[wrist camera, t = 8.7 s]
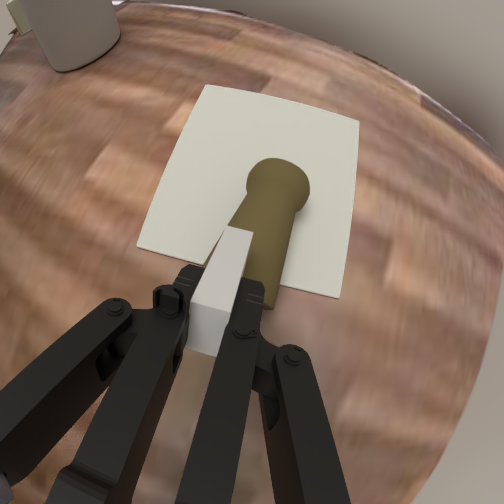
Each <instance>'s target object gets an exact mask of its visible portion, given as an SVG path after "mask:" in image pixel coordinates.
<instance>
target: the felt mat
mask: <svg viewBox="0 0 504 504" xmlns="http://www.w3.org/2000/svg"><path fill="white" fill-rule="evenodd" d="M358 139H359V121H357V120H354V119H351V118H348V117H345V116H342V115H339V114H336V113H333V112H329V111H326V110H323V109H319V108H316V107H312V106H309V105H305V104H302V103H298V102H294V101H290V100H286V99H282V98H278V97H273V96H269V95H264V94H259V93H254V92H249V91H244V90H239V89H233V88H227V87H220V86H214V85H205V87H204V89H203V91H202V93H201V95H200V97H199V99H198V101H197V102H196V104H195V106H194V108H193V110H192V112H191V114H190V116H189V118H188V120H187V122H186V124H185V127H184V129H183V131H182V133H181V135H180V137H179V139H178V141H177V144H176V146H175V148H174V150H173V152H172V155H171V157H170V159H169V162H168V164H167V166H166V169H165V171H164V173H163V176H162V178H161V180H160V183H159V185H158V188H157V190H156V193H155V195H154V198H153V201H152V203H151V206H150V208H149V211H148V214H147V216H146V219H145V222H144V225H143V227H142V230H141V233H140V236H139V239H138V242H137V245H136V247H138V248H141V249H145V250H148V251H152V252H155V253H159V254H163V255H166V256H170V257H174V258H177V259H181V260H185V261H189V262H192V263H196V264H200V265H203V264H204V262H205V261H206V259H207V257H208V256H209V254H210V252H211V251H212V249H213V247H214V246H215V244H216V242H217V241H218V239H219V238H220V236H221V234H222V233H223V231H224V230H225V228H226V226H227V225H228V223H229V222H230V220H231V218H232V217H233V215H234V214H235V212H236V210H237V209H238V207H239V206H240V204H241V203H242V201H243V199H244V198H245V196H246V195H247V190H246V182H247V177H248V174H249V172H250V170H251V169H252V168H253V167H254V166H255V165H256V164H257V163H258V162H260V161H262V160H264V159H267V158H279V159H284V160H286V161H289V162H292V163H293V164H295V165H297V166H298V167H300V168H301V169H302V170H303V171H304V172H305V174H306V175H307V177H308V180H309V183H310V195H309V197H308V200H307V202H306V204H305V205H304V207H303V208H302V209H301V210H300V211H298V212H297V213H296V214H295V218H294V223H293V227H292V232H291V237H290V241H289V246H288V250H287V254H286V259H285V263H284V268H283V272H282V276H281V280H280V285H282V286H286V287H290V288H294V289H299V290H303V291H307V292H311V293H315V294H319V295H324V296H328V297H332V298H337V299H338V298H339V296H340V291H341V286H342V280H343V274H344V268H345V262H346V255H347V249H348V242H349V234H350V227H351V219H352V210H353V201H354V192H355V181H356V169H357V156H358Z"/></svg>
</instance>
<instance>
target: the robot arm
mask: <svg viewBox="0 0 504 504" xmlns="http://www.w3.org/2000/svg"><path fill="white" fill-rule="evenodd" d="M252 236H253V232H251V231H247V230H243V229H239V228H235V227H231V226H226V228H225V230H224V232H223V234H222V236H221V238H220V240H219V242H218V244H217V246H216V248H215V250H214V253H213V255H212V257H211V259H210V261H209V263H208V265H207V267H206V268H203V267H199V266H195V265H191V264H189V265H187V266H185V267H184V268H182V269H181V271H180V272H179V274H178V277H177V278H176V279H175V281H174V283H173V284H172V285H161V286H159V287H157V288H156V289H155V290H154V291H153V308H152V309H132V307H131V305H130V303H129V302H127V301H126V300H124V299H121V298H111V299H107V300H106V301H104V302H102V303H101V304H100V305H99V306H97V307H96V308H95V309H94V310H92V311H91V312H90V313H89V314H88V315H86V316H85V317H84V318H83V319H81V320H80V321H79V322H78V323H77V324H75V325H74V326H73V327H72V328H71V329H69V330H68V331H67V332H66V333H65V334H63V335H62V336H61V337H60V338H59V339H58V340H56V341H55V342H54V343H53V344H52V345H51V346H49V347H48V348H47V349H46V350H45V351H44V352H43V353H41V354H40V355H39V356H38V357H37V358H36V359H35V360H33V361H32V362H31V363H30V364H29V365H28V366H27V367H26V368H25V369H23V370H22V371H21V372H20V373H19V374H18V375H17V376H16V377H15V378H14V379H13V380H11V381H10V382H9V383H8V384H7V385H6V386H5V387H4V388H3V389H2V390H1V391H0V504H8V503H9V502H11V501H13V499H14V494H13V491H12V490H11V488H10V487H11V486H13V485H15V484H17V483H19V482H20V481H21V480H23V479H24V478H26V477H27V476H28V475H29V474H30V473H31V472H32V471H33V470H34V468H35V467H36V466H37V465H38V464H39V463H40V462H41V460H42V459H43V458H44V457H45V456H46V455H47V454H48V453H49V451H50V450H51V449H52V448H53V447H54V446H55V445H56V444H57V443H58V441H59V440H60V439H61V438H62V437H63V436H64V435H65V434H66V432H67V431H68V430H69V429H70V428H71V427H72V426H73V425H74V424H75V423H76V421H77V420H78V419H79V418H80V417H81V416H82V415H83V414H84V413H85V411H86V410H87V409H88V408H89V407H90V406H91V405H92V404H93V403H94V402H95V400H96V399H97V398H98V397H99V396H100V395H101V394H102V393H103V392H104V391H105V390H106V388H107V387H108V386H109V385H110V386H109V388H108V390H107V391H106V393H105V395H104V397H103V399H102V401H101V403H100V405H99V407H98V409H97V411H96V413H95V415H94V417H93V419H92V421H91V423H90V425H89V427H88V429H87V432H86V434H85V436H84V438H83V440H82V442H81V444H80V446H79V449H78V451H77V453H76V455H75V457H74V459H73V461H72V463H71V464H70V465H68V466H66V467H64V468H63V469H62V470H61V471H60V472H59V473H58V475H57V477H56V479H55V482H54V484H53V486H52V489H51V491H50V493H49V496H48V498H47V501H46V503H45V504H132V496H133V493H134V490H135V487H136V484H137V481H138V478H139V475H140V473H141V470H142V467H143V464H144V461H145V458H146V455H147V452H148V450H149V447H150V444H151V441H152V438H153V436H154V433H155V430H156V427H157V425H158V422H159V419H160V416H161V414H162V411H163V408H164V406H165V403H166V400H167V398H168V395H169V392H170V390H171V387H172V384H173V382H174V379H175V376H176V374H177V371H178V368H179V366H180V363H181V361H182V357H183V349H184V347H185V344H186V349H189V350H193V351H196V352H200V353H203V354H207V355H211V356H214V357H216V361H215V364H214V368H213V371H212V375H211V378H210V382H209V385H208V389H207V392H206V395H205V399H204V402H203V406H202V409H201V413H200V416H199V420H198V423H197V427H196V430H195V434H194V437H193V441H192V444H191V448H190V451H189V455H188V458H187V462H186V465H185V469H184V472H183V476H182V479H181V483H180V487H179V490H178V494H177V497H176V501H175V504H230V503H231V498H232V493H233V488H234V483H235V477H236V472H237V467H238V461H239V456H240V450H241V445H242V439H243V434H244V428H245V422H246V417H247V411H248V405H249V399H250V393H251V389H252V390H254V391H256V392H258V393H259V401H260V407H261V414H262V421H263V428H264V434H265V441H266V448H267V454H268V461H269V467H270V474H271V480H272V486H273V493H274V499H275V504H351V502H350V498H349V494H348V491H347V487H346V483H345V479H344V475H343V472H342V468H341V464H340V461H339V457H338V453H337V450H336V446H335V442H334V439H333V435H332V432H331V428H330V425H329V421H328V418H327V414H326V411H325V407H324V404H323V400H322V397H321V393H320V390H319V387H318V383H317V380H316V376H315V373H314V370H313V366H312V363H311V360H310V357H309V355H308V353H307V352H306V351H305V350H304V349H302V348H301V347H298V346H296V345H291V344H288V345H283V346H281V347H279V348H278V347H276V346H275V345H273V344H271V343H269V342H268V341H266V340H265V339H264V338H263V336H262V335H261V333H260V321H261V315H262V308H263V302H264V295H265V288H264V286H263V283H262V282H260V281H256V280H252V279H248V278H244V277H243V273H244V269H245V265H246V261H247V257H248V253H249V249H250V244H251V240H252Z"/></svg>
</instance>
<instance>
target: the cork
mask: <svg viewBox="0 0 504 504" xmlns="http://www.w3.org/2000/svg"><path fill="white" fill-rule="evenodd" d="M246 190H247V195H246V196H245V198H244V199H243V201H242V203H241V204H240V206H239V207H238V209H237V210H236V212H235V214H234V215H233V217H232V218H231V220H230V222H229V223H228V225H227V226H231V227H235V228H239V229H243V230H247V231H251V232H253V236H252V240H251V244H250V249H249V253H248V257H247V261H246V265H245V269H244V273H243V277H244V278H248V279H252V280H256V281H260V282H262V283H263V286H264V288H265V295H264V302H263V308H264V309H269V310H273V309H274V306H275V301H276V297H277V293H278V289H279V285H280V280H281V276H282V272H283V268H284V263H285V259H286V254H287V250H288V246H289V241H290V237H291V232H292V227H293V223H294V218H295V214H296V213H297V212H298V211H300V210H301V209H302V208H303V207H304V205H305V204H306V202H307V200H308V197H309V195H310V183H309V180H308V177H307V175H306V174H305V172H304V171H303V170H302V169H301V168H300V167H298V166H297V165H295V164H293V163H292V162H289V161H286V160H284V159H279V158H267V159H264V160H262V161H260V162H258V163H257V164H256V165H255V166H254V167H253V168H252V169H251V170H250V172H249V174H248V177H247V182H246ZM223 232H224V231H223ZM222 234H223V233H222ZM222 234H221V236H222ZM221 236H220V238H221ZM220 238H219V239H218V241H217V242H216V244H215V246H214V247H213V249H212V251H211V252H210V254H209V256H208V257H207V259H206V261H205V262H204V264H203V265H202V267H203V268H206V267H207V265H208V263H209V261H210V259H211V257H212V255H213V253H214V250H215V248H216V246H217V244H218V242H219V240H220Z"/></svg>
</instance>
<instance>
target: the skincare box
mask: <svg viewBox="0 0 504 504" xmlns="http://www.w3.org/2000/svg"><path fill="white" fill-rule="evenodd" d="M6 6H7V8H8V10H9V12H10V14H11V16H12V18H13V20H14V22H15V24H16V26H17V28H18V30H19V32H20V34H21V36H22V35H24V34H26V33H27V32H29V31H31V30H32V28H31V26H30V24H29V22H28V20H27V18H26V16H25V14H24V11H23V9H22V7H21V5H20V3H19V1H18V0H9V2H8V3H7V4H6Z"/></svg>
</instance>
